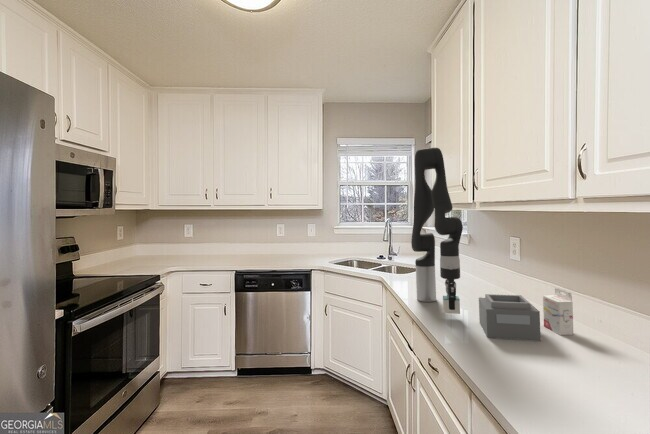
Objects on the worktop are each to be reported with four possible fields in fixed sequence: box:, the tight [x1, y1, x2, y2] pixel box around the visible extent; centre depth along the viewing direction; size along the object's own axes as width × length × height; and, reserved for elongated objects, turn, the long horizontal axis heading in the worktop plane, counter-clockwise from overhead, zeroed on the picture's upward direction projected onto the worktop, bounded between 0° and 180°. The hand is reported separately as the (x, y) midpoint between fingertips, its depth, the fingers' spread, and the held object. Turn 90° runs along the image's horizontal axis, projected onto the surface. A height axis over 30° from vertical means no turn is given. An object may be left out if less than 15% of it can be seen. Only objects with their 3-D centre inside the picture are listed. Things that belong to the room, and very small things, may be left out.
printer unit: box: [478, 293, 542, 342], centre depth 112 cm, size 15×16×12 cm
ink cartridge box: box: [542, 287, 574, 336], centre depth 111 cm, size 9×5×15 cm, turn 179°
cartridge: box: [442, 295, 461, 315], centre depth 127 cm, size 4×6×6 cm, turn 74°
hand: (451, 307), depth 127 cm, fingers closed on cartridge, 4 cm apart
